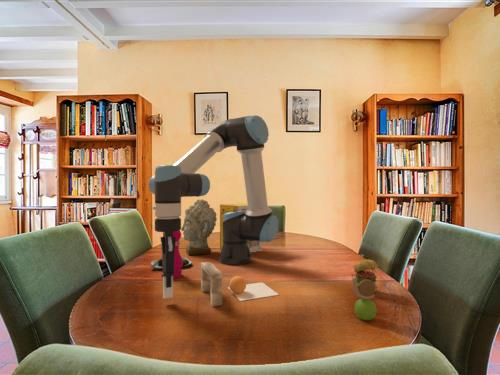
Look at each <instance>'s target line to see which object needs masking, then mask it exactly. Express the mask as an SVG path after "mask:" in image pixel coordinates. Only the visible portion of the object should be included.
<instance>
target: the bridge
mask: <svg viewBox="0 0 500 375" xmlns="http://www.w3.org/2000/svg"><path fill="white" fill-rule="evenodd" d="M200 291H201V292H202V293H207V292H210V297H209V298H210V300H209V301H210V306H211V307H218V306H223V273H222V272H221V271H220V270H219V269H218V268H217V267H216V266H215V265H214V264H213V263H212V262H210V261H206V262H200Z"/></svg>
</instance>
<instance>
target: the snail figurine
mask: <svg viewBox="0 0 500 375" xmlns="http://www.w3.org/2000/svg"><path fill="white" fill-rule="evenodd" d="M351 283H352V289H353V292H354V294H355V296H356V297H357V298H359V299H357V300H356V301H355V303H354V307H353V308H354V312H355V315H356V316H357V317H358V318H359V319H361V320H362V321H371V320H373V319H375V317H376V315H377V311H378V310H377V306H376V304H375V303H374V301H373V300H371V299H373V298H375V293H376V292H375V285H374V283H373V282H372V281H371V280H367V279H365V280H362V281H361V282H360V283H359V284H358V286H357V279H356V277H355V274H354V273H351ZM374 292H375V293H374Z"/></svg>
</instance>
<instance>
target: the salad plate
mask: <svg viewBox="0 0 500 375" xmlns="http://www.w3.org/2000/svg"><path fill="white" fill-rule="evenodd" d="M181 258H182V261H183V266H182V268H181V269H180V270H183V269H188V268H190V267H191V266H192V265H193V262H192V261H191V260H189V258H187V257H181ZM150 263H151V266H150V268H151V269H154V270H155V271H158V272H159V271H161V272H163V270H162V267H163V264H162V257H161V258H159V259H156V260H153V261H151V262H150Z"/></svg>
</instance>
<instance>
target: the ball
mask: <svg viewBox="0 0 500 375" xmlns="http://www.w3.org/2000/svg"><path fill="white" fill-rule="evenodd" d="M246 284H247V282H246V280H245V278H244V277H242V276H241V275H236V276H233V277H232V278H231V279H230V280H229V283H228V287H230V290H231V291H232V292H233V293H235V294H240V293H242V292H243V291H244V290H245V288H246ZM230 290H229V291H230ZM231 291H230V292H231ZM232 292H231V293H232ZM233 293H232V294H233Z"/></svg>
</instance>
